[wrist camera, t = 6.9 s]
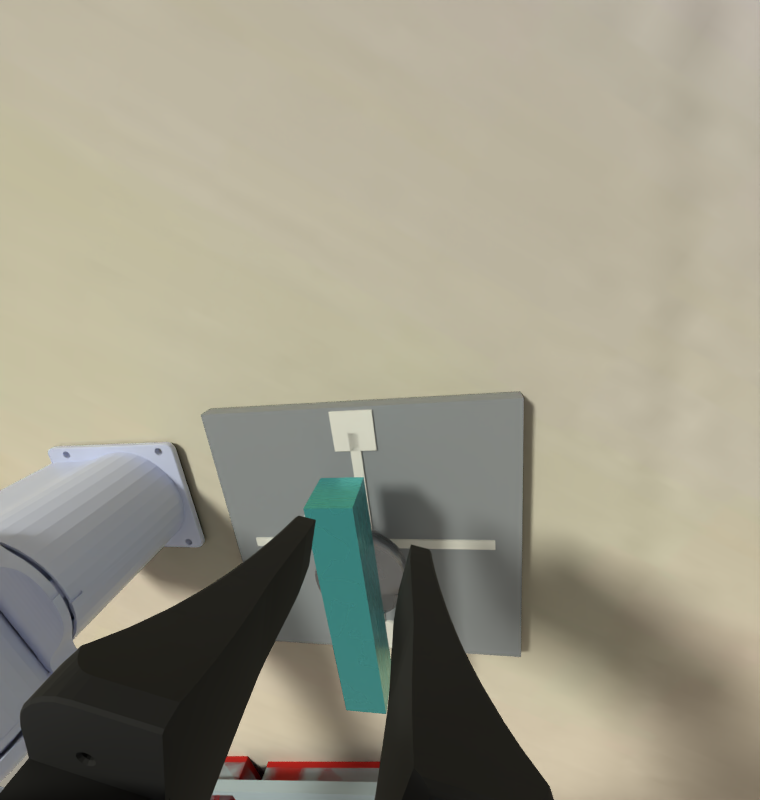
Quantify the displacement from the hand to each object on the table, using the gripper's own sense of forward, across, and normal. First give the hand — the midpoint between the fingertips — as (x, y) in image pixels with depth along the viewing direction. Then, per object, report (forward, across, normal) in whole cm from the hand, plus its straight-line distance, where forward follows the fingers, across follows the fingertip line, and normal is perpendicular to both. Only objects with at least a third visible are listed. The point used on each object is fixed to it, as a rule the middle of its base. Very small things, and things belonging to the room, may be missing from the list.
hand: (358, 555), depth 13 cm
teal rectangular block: (+7, 0, +7) cm, 10 cm away
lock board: (+10, 0, +7) cm, 12 cm away
